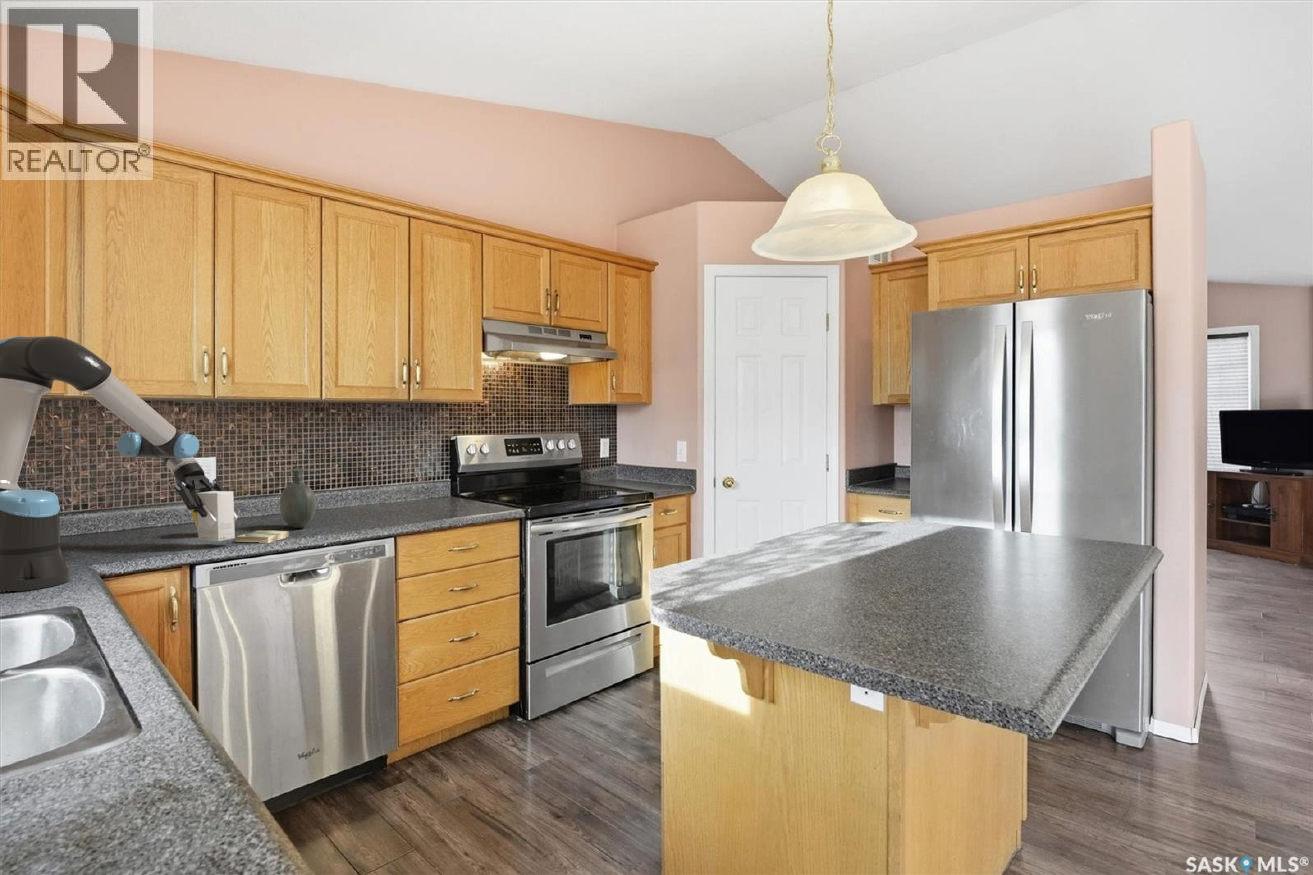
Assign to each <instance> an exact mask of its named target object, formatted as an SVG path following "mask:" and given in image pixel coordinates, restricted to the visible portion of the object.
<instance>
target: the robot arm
mask: <svg viewBox="0 0 1313 875" xmlns="http://www.w3.org/2000/svg"><path fill="white" fill-rule="evenodd" d="M54 381H59V382H62V383H66V384H68V385H70V386H72V387H73V388H75V390H77V391H79V392H83V393H84V392H85V393H87V394H89V395H90V396H91V397H93V399H95V400H96V401H98V403H100V404H101V405H103V406H104V407H105V408H107V409H108V410H109V411H110V412H111V413H113V414H114V415H115V416H117V417H118V418H119V419H120V420H121V421H123V422H124V423H125V424H127V425H128V426H129V427H131V428H132V429H133V430H134V431H135V432H125V433H122V435H120V436H119V438H118V440H117V444H116V448H117V451H118V452H119V454H121V455H122V456H124V457H131V458H143V459H144V458H145V459H161V460H162V462H163V463H165V466H166V467H167V468H168V470H169V471H170V473H172V475H173V476H174V478H175V479H176V481H177V483H176V484H175V486H174V487H173V489H174V490H175V491H176V492H177V493H178V494H179V496H180V498H181V499H182V501H183V503H184V505H185V507H186V508H187V510H189V511H192V509H194V510H193V512H195V513H196V512H198V513H199V514H200V516H201V517H202V518H203V517H204V519H205V520H206V522H207V523H208V524H209V526H213V525H214V523H215V522H216V521H217V520H216V519H215V517H214V516H213V515H212V513H211V512H210V510H209V509H208V508H207V506H206V505H203V507H202V501H201V499H200V497H199V496H198V494H197V493H202V492H210V491H227V490H226V489H225V488H224V487H223V486H222V485H221V483H220V481H219V479H218V478H214V479H213V480H212V479H211V480H210V479H209V478H208V477H207V476H206V475H205V471H204V469H203V468H202V466H201V465H200V464H199V463H198V461H197V459H196V458H195V456H196V455H197V453H198V452H199V450H200V441H199V439H198V437H196V436H195V435H193V434H188V433H186V432H185V433H182V432H181V431H179V430H178V429H177V428H176V427H175V426H173V425H172V424H171V422H169V421H167V419H165V418H164V417H163V416H162V415H161V414H160V413H158V411H156V410H155V409H153V407H152V406H150V405H149V404H148V403H147V402H145V400H143V399H142V398H141V397H140V396H139V395H138V394H136V393H135V392H134V391H133V390H132V389H131V388H129V387H128V386H127V385H126V384H125V383H124V382H122V381H121V380H120V378H117V376H116V375H114V374H113V368H112V367H111V366H110V365H109V364H108V363H106V362H105V361H104V360H103V359H102V358H101V357H99V356H98V355H97V354H95V353H94V352H93V351H91V350H90V349H88V348H87V347H85V346H83V345H82V344H80V343H78V342H76V341H74V340H72V339H69V338H65V337H61V336H57V335H56V336H55V335H49V336H24V335H23V336H21V335H20V336H13V337H6V338H4V339H3V338H2V339H1V340H0V591H8V592H7V593H11V592H10V591H17V592H25V591H33V590H39V589H40V590H41V589H45V588H51V587H54V586H58V585H62V584H64V583H67V582H69V581H71V570H70V568H68V565H67V562H66V560H65V558H64V556H63V553H62V551H61V524H60V523H61V521H60V520H61V519H60V518H61V516H60V512H61V506H60V502H59V497H58V495H57V494H55V493H54V492H51V491H48V490H41V489H27V488H26V489H23V488H21V487H20V486H19V484H18V481H19V478H20V475H21V471H22V467H23V464H24V460H25V456H26V452H27V449H28V446H29V442H30V438H31V435H32V432H33V429H34V428H33V427H34V424H35V422H36V418H37V414H38V410H39V407H40V406H39V405H40V403H41V399H42V397H43V396H45V395H47V394H49V393H51V392H52V388H53V384H54ZM238 518H239V516H238V515H237V514H236V512H235V511H234V523H235V522H236V521H237V519H238Z"/></svg>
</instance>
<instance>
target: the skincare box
mask: <svg viewBox="0 0 1313 875" xmlns="http://www.w3.org/2000/svg"><path fill="white" fill-rule="evenodd" d="M197 494H198V496H199V497H200V499H201V501H202V507H203V505H206V506H207V508H208V509H209V510H210V512H211V513H212V515H213V516H214V517H215V519H216V520H217V521H216V522H215V523H214V525H213V526H209V524H208V523H207V522H206V520H205V519H204V517H203V518H202V517H201V516H200V514H199V513H198V532H197V536H198V537H197V539H198V541H199V542H202V541H203V542H217V543H218V542H224V541H225V542H226V541H230V540H234V539H236V536H235V535H236V534H235V531H236V530H235V522H234V512H235V507H234V506H235V503H234V501H235V500H234V499H235V498H234V491H233V490H232V491H231V490H230V491H229V490H228V491H227V490H226V491H210V492H199V493H197Z"/></svg>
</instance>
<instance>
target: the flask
mask: <svg viewBox="0 0 1313 875" xmlns="http://www.w3.org/2000/svg"><path fill="white" fill-rule="evenodd" d="M289 471H290V472H291V473H292V475H293V482H292V483H291V482H290V483H289V484H288V485H287V486H286V487H285V488H284V489H283V490H282V492H281V494H280V497H279V504H278V505H279V511H280V515H281V517H282V520H283V521H284V522H285V523H286V524H287V525H288V526H290V527H292V528H294V529H302V528H304V527H306V526H307V525H308V524H309V523H311V521H312V520H313V518H314V516H315V514H316V510H317V505H318V504H317V498H316V495H315V493H314V491H313V489H312V488H311V487H310V486H309V485H308V484H306V483H304V482H303V480H302V478H303V477H302V475H303V472H304V471H305V469H303V468H293V469H290V470H289Z"/></svg>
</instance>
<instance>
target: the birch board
mask: <svg viewBox="0 0 1313 875" xmlns="http://www.w3.org/2000/svg"><path fill="white" fill-rule="evenodd" d="M289 533H290V532H289V531H288V530H256V531H255V530H254V531H251V532H247V533H245V534H240V535H237V536H235V543H236V542H259V543H258V544H269V543H273V542H276V540H277V541H279V540H283V539H287V538H289V537H288V536H290V535H289ZM286 537H287V538H286Z"/></svg>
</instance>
